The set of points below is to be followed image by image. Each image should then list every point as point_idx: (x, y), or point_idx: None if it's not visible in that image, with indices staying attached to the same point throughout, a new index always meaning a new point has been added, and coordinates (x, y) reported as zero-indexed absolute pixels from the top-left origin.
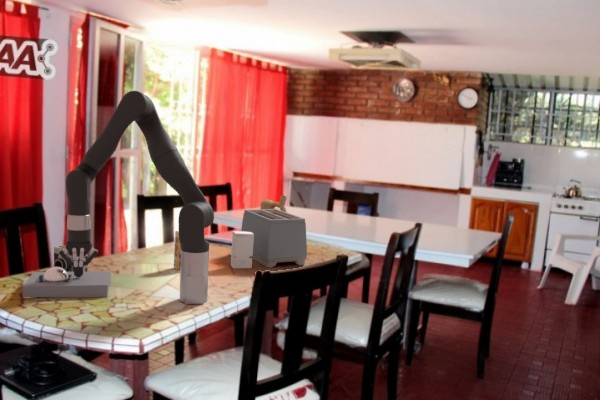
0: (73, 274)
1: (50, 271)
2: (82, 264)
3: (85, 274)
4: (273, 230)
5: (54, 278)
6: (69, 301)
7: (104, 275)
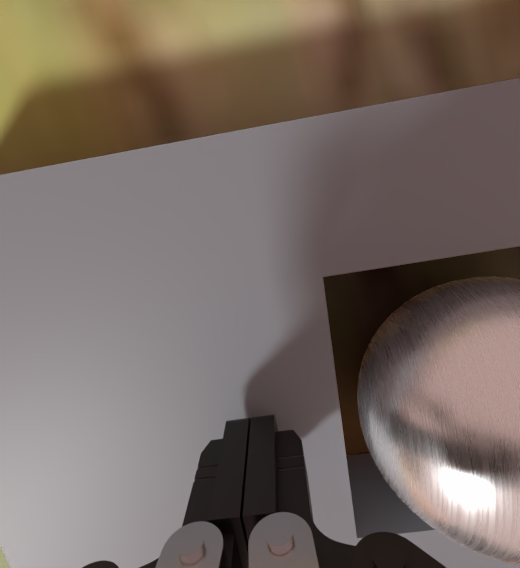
0: None
1: None
2: (162, 566)
3: None
4: None
5: (507, 298)
6: (234, 16)
7: (46, 537)
